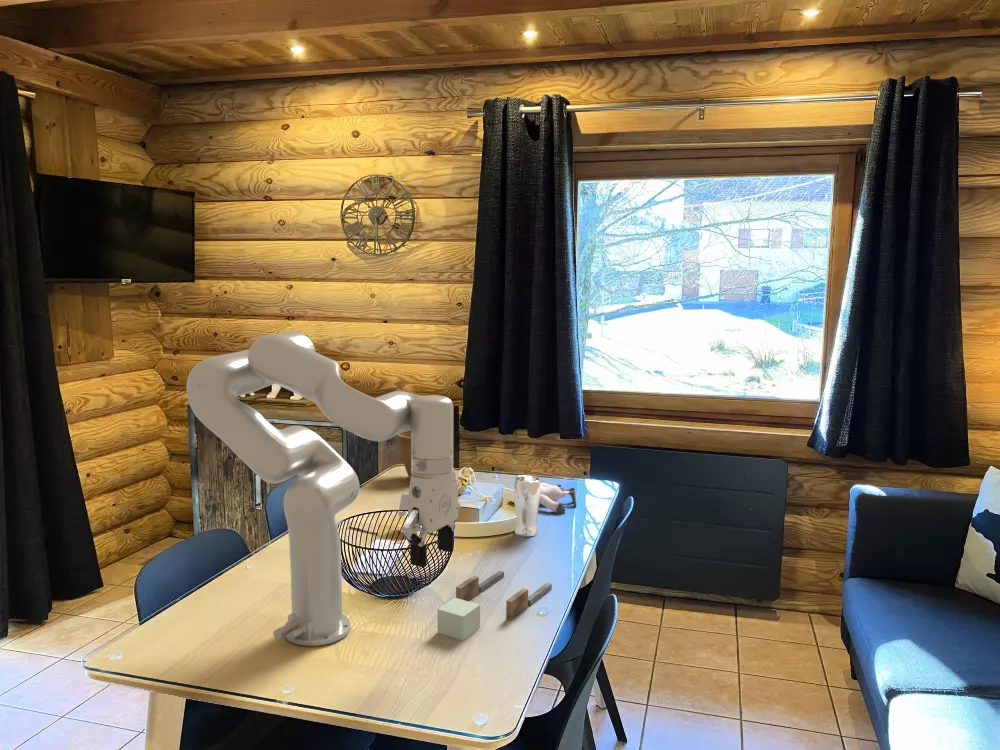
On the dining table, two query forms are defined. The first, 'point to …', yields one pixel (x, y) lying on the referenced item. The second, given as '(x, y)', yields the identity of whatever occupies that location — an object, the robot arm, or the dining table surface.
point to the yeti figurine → (554, 497)
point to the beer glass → (526, 504)
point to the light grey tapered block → (403, 504)
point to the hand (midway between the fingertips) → (432, 557)
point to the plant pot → (406, 450)
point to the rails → (500, 575)
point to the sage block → (458, 618)
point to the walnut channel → (513, 604)
